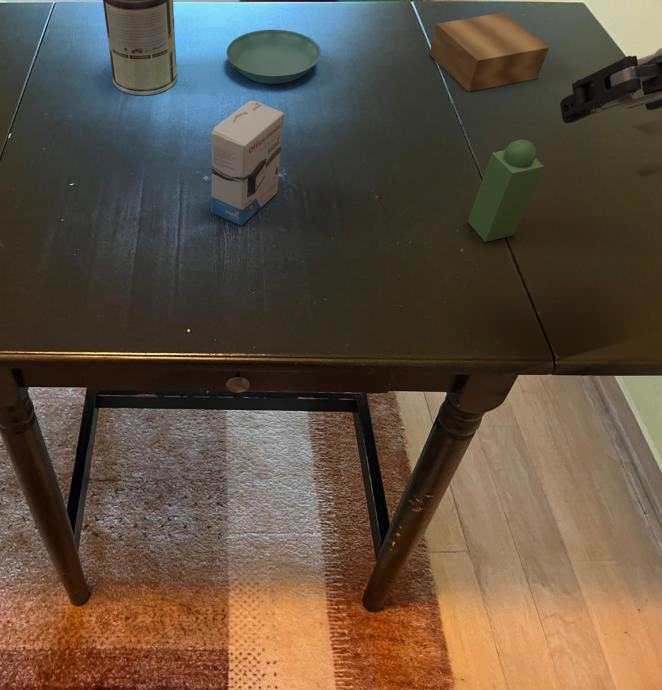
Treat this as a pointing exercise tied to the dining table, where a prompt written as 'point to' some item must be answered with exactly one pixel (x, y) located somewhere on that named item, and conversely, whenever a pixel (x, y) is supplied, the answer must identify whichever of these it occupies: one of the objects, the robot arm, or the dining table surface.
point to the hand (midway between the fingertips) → (607, 105)
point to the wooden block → (487, 51)
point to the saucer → (273, 55)
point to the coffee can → (141, 45)
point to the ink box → (246, 161)
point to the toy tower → (505, 191)
